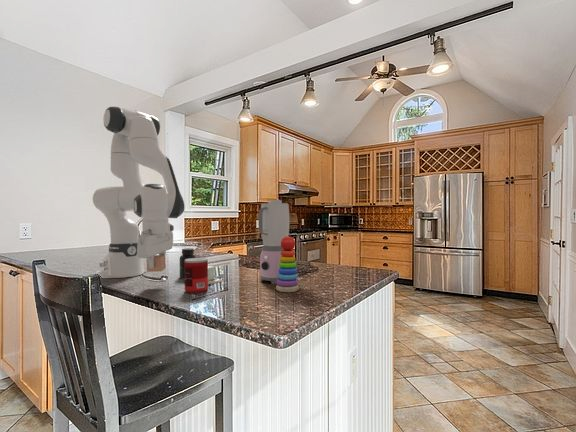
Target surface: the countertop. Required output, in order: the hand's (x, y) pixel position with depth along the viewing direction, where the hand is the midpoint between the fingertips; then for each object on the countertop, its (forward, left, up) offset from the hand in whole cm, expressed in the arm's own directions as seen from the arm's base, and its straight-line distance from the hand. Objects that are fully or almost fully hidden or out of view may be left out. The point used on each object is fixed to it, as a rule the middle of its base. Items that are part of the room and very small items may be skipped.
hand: (156, 265), depth 116 cm
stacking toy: (+43, +23, -8) cm, 49 cm away
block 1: (0, 0, -2) cm, 2 cm away
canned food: (+17, +5, -8) cm, 19 cm away
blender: (+30, +31, -8) cm, 44 cm away
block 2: (+9, +15, -7) cm, 19 cm away
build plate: (+9, +15, -8) cm, 19 cm away
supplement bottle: (-5, +17, -8) cm, 20 cm away
